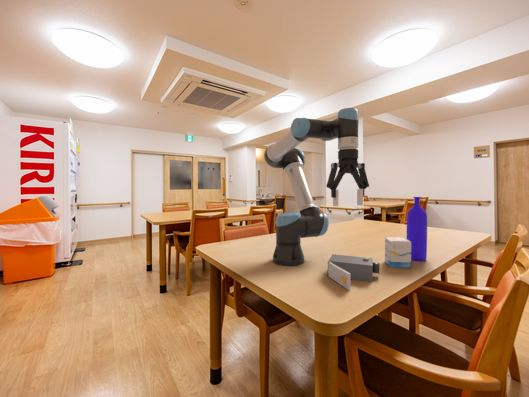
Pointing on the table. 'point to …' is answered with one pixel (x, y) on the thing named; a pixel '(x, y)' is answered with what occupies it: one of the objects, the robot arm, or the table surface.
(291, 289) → the table surface
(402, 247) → the ink box
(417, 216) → the bottle
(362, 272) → the camera box
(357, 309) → the table surface
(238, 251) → the table surface
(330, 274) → the side door
